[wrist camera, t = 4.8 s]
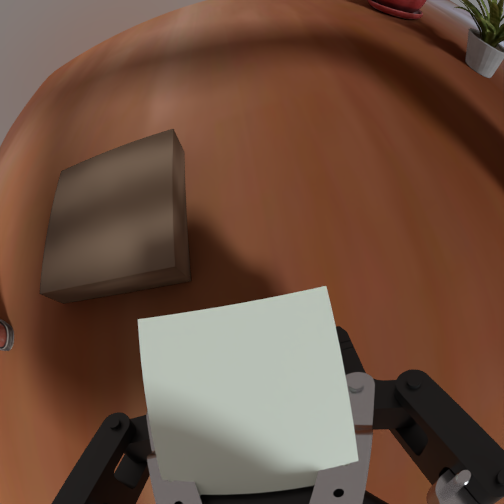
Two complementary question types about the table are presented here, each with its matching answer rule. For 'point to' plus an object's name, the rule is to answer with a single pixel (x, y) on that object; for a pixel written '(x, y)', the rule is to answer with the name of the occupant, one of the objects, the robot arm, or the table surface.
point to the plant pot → (399, 7)
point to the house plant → (485, 38)
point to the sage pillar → (248, 394)
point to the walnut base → (119, 223)
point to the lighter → (6, 336)
